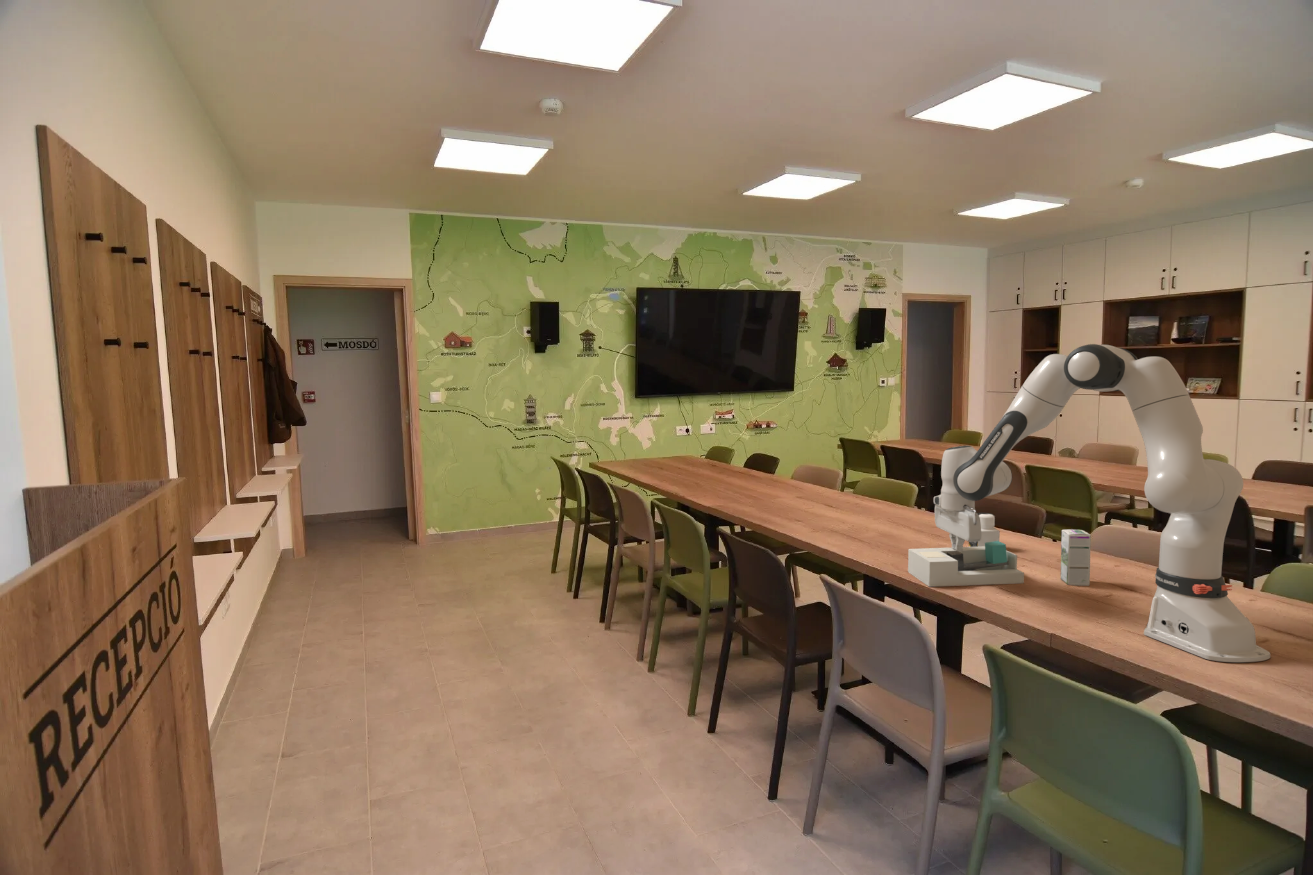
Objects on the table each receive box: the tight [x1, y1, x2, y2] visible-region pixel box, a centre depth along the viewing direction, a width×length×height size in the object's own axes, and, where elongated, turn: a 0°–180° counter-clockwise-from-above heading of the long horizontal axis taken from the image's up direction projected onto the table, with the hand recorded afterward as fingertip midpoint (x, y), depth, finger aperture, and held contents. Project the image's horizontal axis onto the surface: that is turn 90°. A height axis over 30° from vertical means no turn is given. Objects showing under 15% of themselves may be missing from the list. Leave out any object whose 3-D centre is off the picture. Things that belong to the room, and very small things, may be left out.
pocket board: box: [907, 546, 1025, 587], centre depth 200 cm, size 14×27×7 cm, turn 93°
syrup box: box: [1060, 528, 1092, 587], centre depth 193 cm, size 6×6×14 cm
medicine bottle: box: [968, 512, 1001, 547], centre depth 229 cm, size 7×7×12 cm
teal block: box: [985, 540, 1007, 564], centre depth 200 cm, size 4×4×5 cm
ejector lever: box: [947, 551, 1009, 571], centre depth 200 cm, size 3×16×5 cm, turn 93°
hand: (957, 550), depth 198 cm, fingers closed
